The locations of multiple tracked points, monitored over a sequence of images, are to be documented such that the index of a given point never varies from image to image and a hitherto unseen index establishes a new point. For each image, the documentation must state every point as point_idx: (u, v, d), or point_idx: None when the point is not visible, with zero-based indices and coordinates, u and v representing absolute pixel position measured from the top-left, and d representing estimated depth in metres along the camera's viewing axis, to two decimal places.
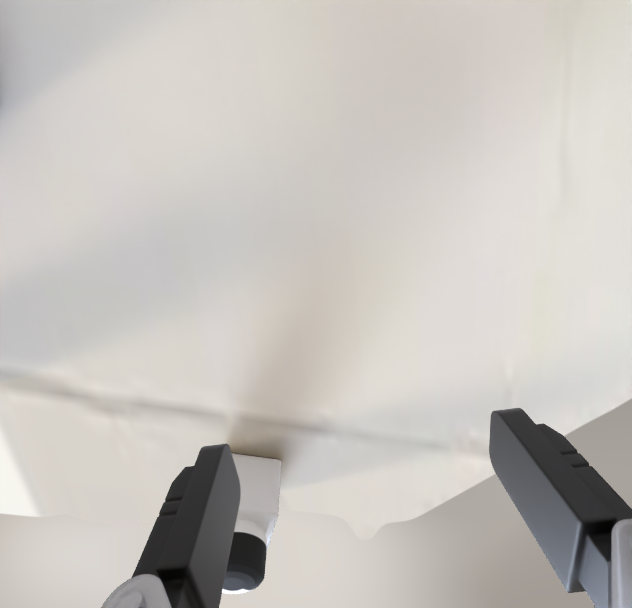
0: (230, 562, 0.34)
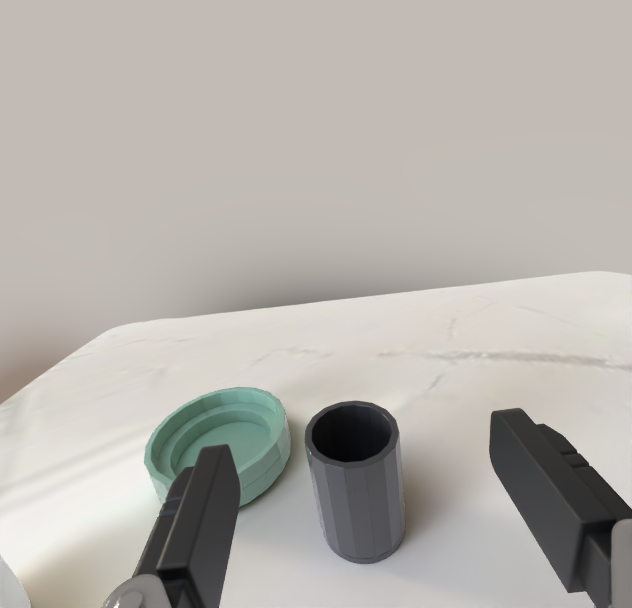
0: None
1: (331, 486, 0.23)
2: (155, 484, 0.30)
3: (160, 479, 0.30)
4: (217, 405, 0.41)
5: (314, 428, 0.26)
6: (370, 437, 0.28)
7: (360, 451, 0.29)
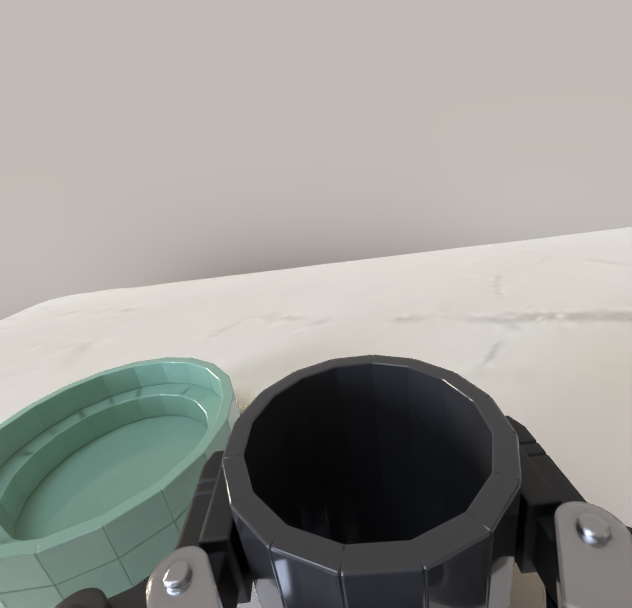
0: None
1: None
2: None
3: None
4: (130, 388, 0.24)
5: (261, 420, 0.09)
6: (406, 445, 0.11)
7: (379, 478, 0.13)
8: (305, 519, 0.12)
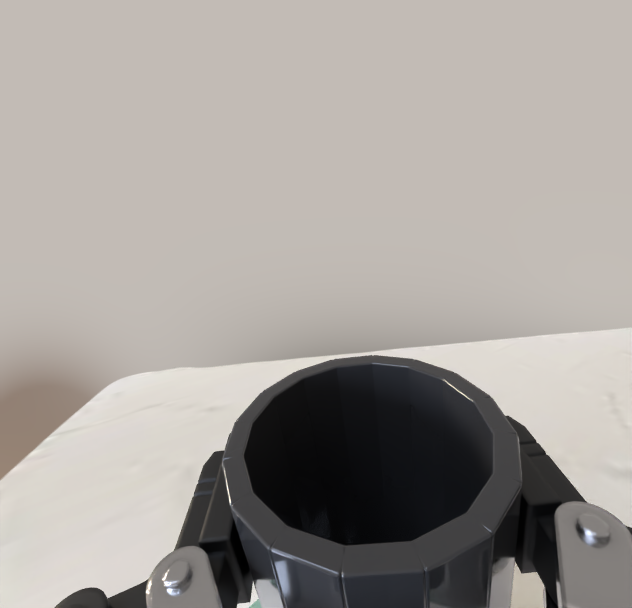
0: None
1: None
2: None
3: None
4: None
5: (261, 420, 0.09)
6: (407, 445, 0.11)
7: (380, 478, 0.12)
8: (305, 520, 0.12)
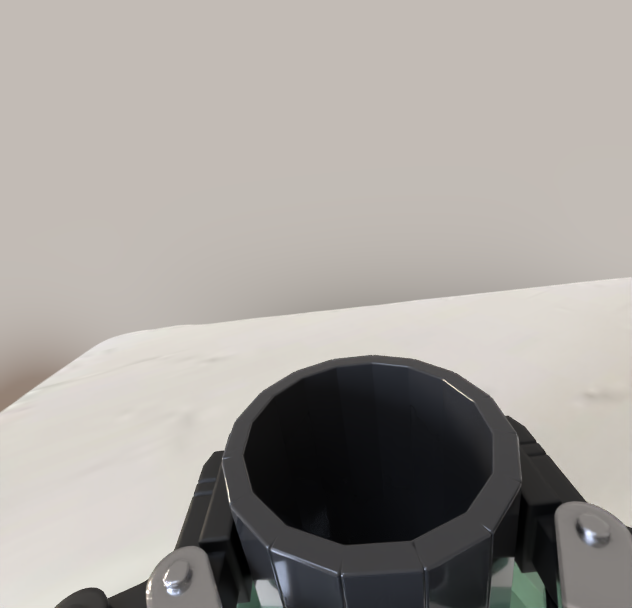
0: None
1: None
2: None
3: None
4: None
5: (260, 420, 0.09)
6: (406, 445, 0.11)
7: (379, 478, 0.12)
8: (304, 520, 0.12)
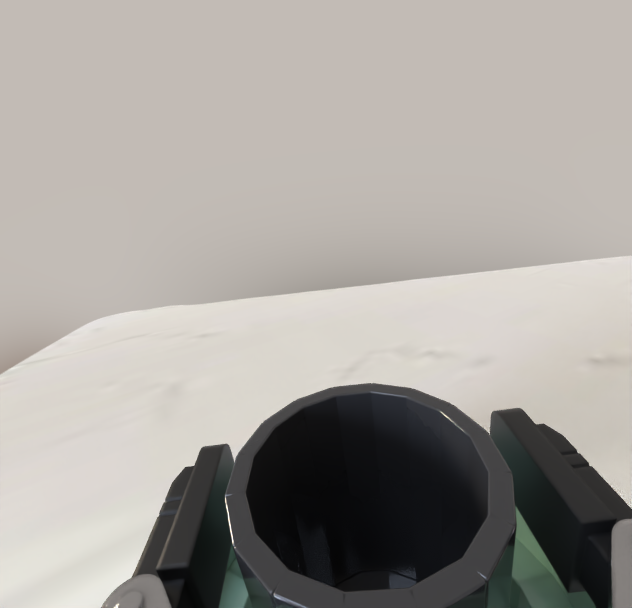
0: None
1: None
2: None
3: None
4: None
5: (262, 452, 0.10)
6: (405, 471, 0.12)
7: (378, 501, 0.13)
8: (305, 544, 0.12)
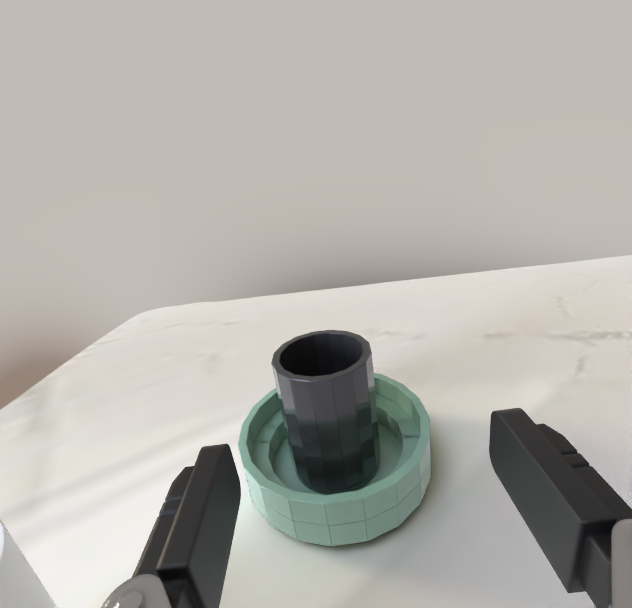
0: None
1: (297, 405, 0.22)
2: (266, 498, 0.21)
3: (277, 491, 0.20)
4: None
5: (283, 353, 0.24)
6: (345, 369, 0.26)
7: None
8: None
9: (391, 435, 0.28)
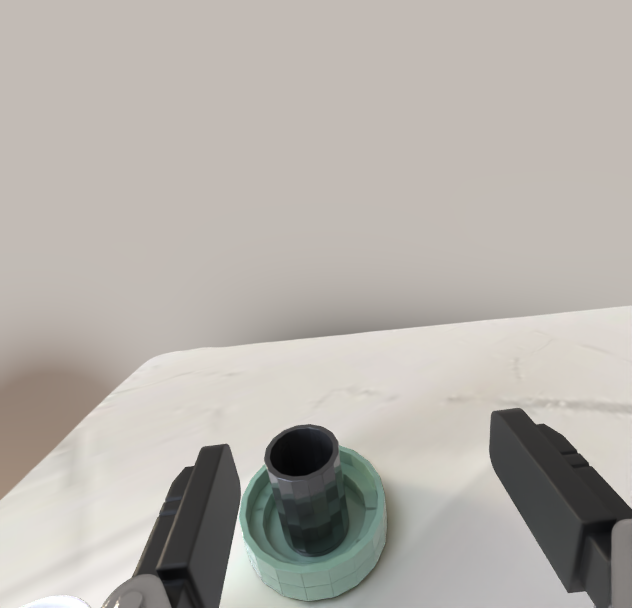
0: None
1: (283, 495, 0.29)
2: (260, 564, 0.29)
3: (268, 561, 0.28)
4: None
5: (273, 447, 0.32)
6: (322, 454, 0.34)
7: (314, 465, 0.35)
8: None
9: (359, 502, 0.36)
